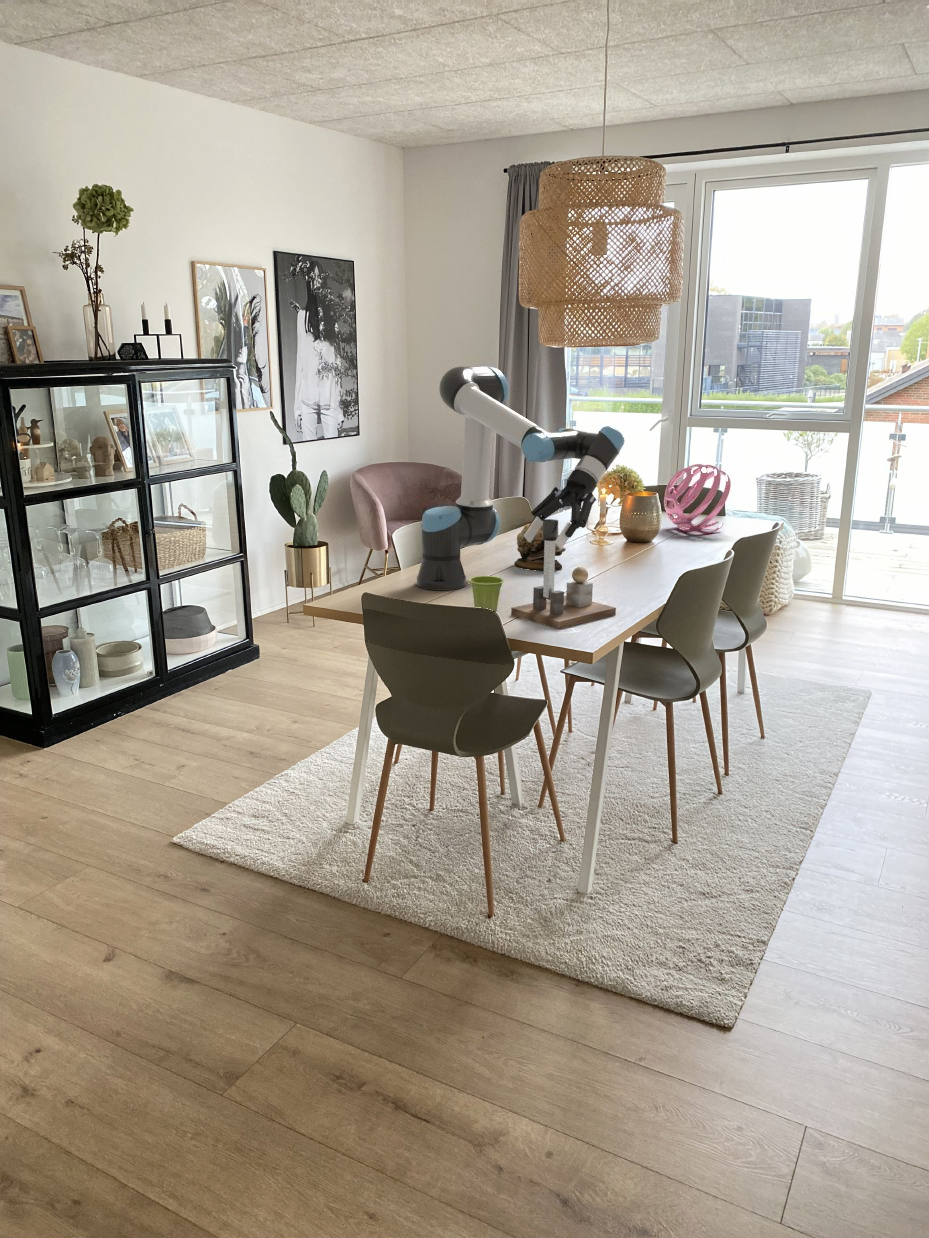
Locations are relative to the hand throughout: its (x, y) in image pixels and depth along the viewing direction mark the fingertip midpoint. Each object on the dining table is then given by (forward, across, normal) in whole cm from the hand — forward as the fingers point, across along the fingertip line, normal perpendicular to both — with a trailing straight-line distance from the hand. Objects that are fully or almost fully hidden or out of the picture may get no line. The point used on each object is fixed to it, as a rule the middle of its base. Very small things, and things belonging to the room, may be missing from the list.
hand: (542, 542), depth 245 cm
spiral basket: (-84, +55, -114) cm, 152 cm away
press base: (+9, 0, -21) cm, 23 cm away
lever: (+9, 0, -13) cm, 15 cm away
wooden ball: (-1, 0, -20) cm, 20 cm away
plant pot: (+18, +17, -12) cm, 28 cm away
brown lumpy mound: (-17, +47, -48) cm, 69 cm away
